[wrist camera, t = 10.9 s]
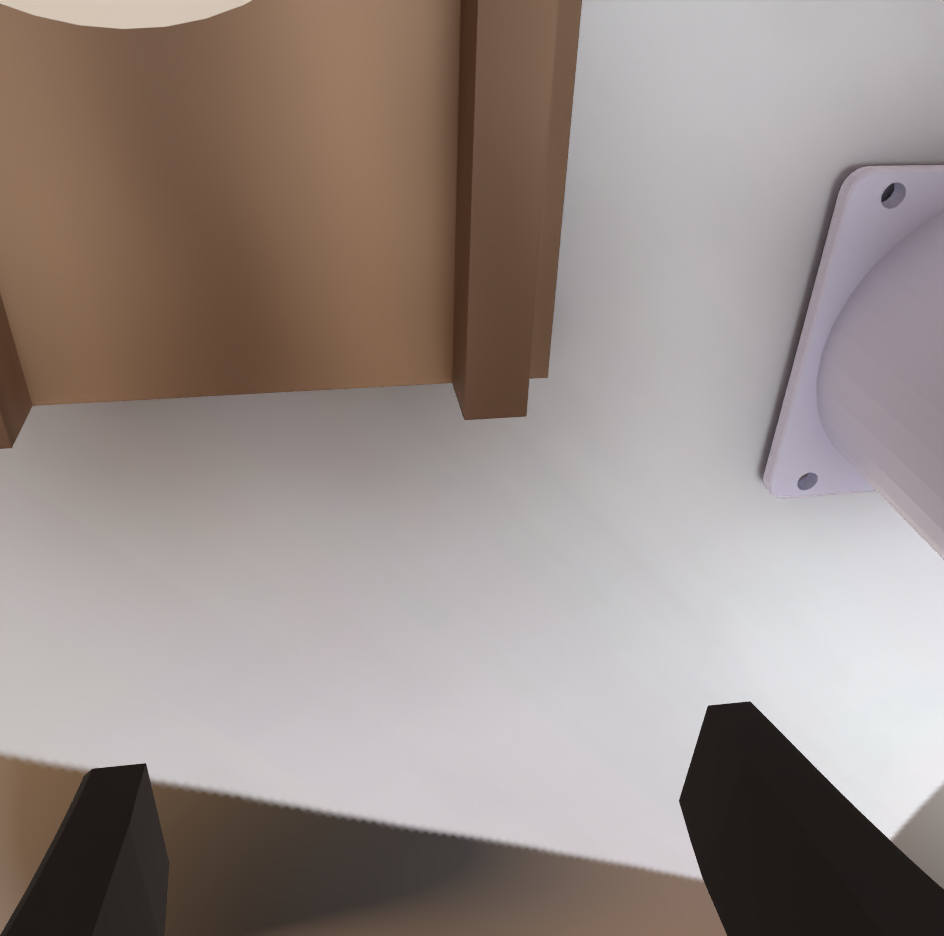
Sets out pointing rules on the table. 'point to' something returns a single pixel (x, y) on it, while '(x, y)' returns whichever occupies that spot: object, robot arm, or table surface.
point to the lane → (283, 201)
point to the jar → (125, 11)
